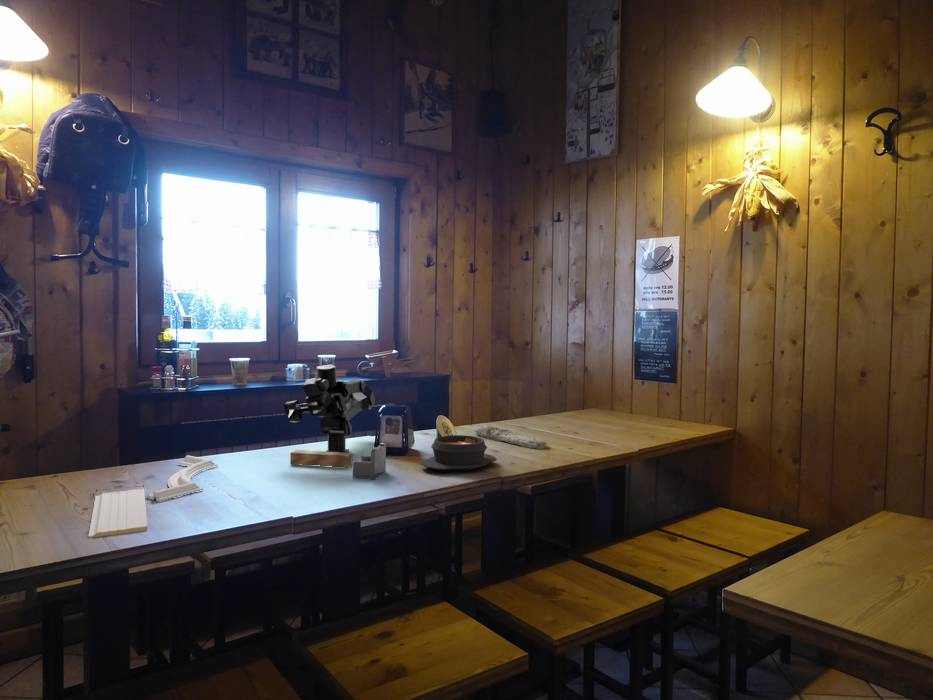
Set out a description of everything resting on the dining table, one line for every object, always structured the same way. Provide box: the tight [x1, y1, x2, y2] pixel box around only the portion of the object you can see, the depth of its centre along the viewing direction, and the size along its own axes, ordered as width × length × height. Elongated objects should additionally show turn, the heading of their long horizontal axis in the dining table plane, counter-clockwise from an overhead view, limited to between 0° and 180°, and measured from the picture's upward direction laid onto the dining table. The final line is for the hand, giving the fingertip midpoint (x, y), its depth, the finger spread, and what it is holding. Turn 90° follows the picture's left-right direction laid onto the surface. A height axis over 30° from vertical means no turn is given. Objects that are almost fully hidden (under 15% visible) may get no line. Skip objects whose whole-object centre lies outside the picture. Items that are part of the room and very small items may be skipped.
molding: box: [146, 455, 219, 503], centre depth 170 cm, size 42×12×3 cm, turn 14°
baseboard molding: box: [87, 484, 148, 539], centre depth 141 cm, size 31×3×12 cm
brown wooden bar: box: [289, 449, 353, 469], centre depth 189 cm, size 18×4×4 cm, turn 80°
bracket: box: [352, 442, 387, 481], centre depth 178 cm, size 10×7×9 cm
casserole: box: [419, 434, 498, 472], centre depth 189 cm, size 25×19×8 cm
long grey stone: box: [474, 424, 547, 450], centre depth 231 cm, size 35×5×10 cm
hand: (302, 417), depth 180 cm, fingers open, 9 cm apart
